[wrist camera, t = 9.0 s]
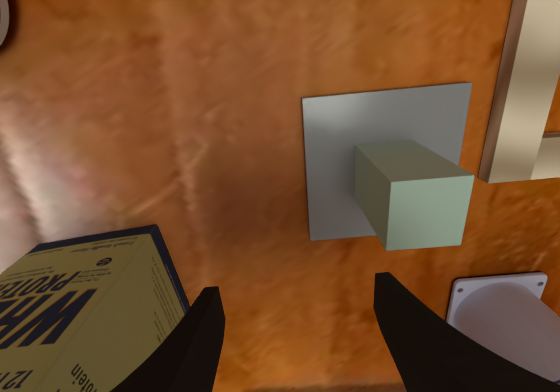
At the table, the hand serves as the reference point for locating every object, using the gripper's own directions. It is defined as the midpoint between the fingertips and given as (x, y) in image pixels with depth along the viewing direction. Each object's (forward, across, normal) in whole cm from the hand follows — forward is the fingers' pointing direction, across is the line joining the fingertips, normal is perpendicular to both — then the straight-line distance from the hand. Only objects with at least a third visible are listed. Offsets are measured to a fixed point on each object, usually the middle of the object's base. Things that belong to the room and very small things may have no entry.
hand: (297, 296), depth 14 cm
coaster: (+10, -7, -2) cm, 13 cm away
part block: (+10, -7, -2) cm, 12 cm away
